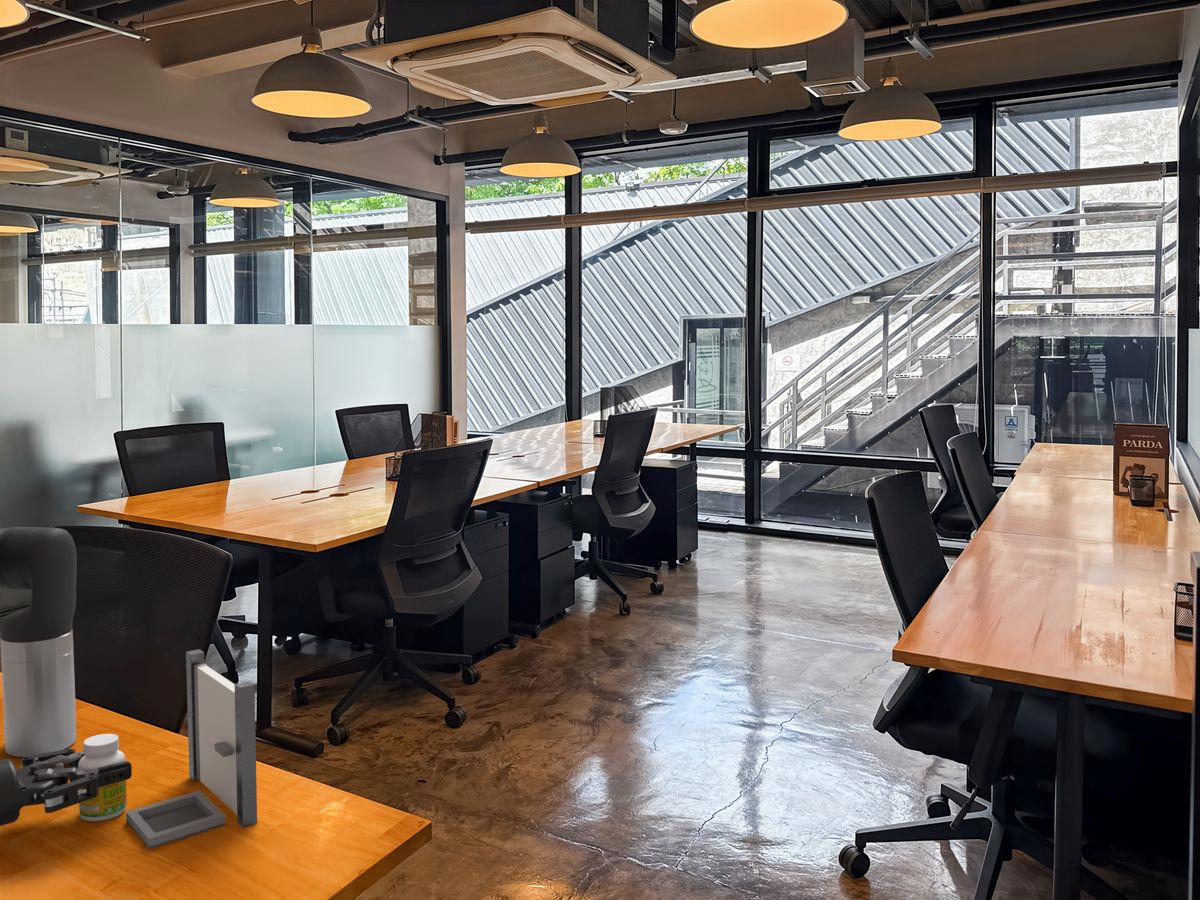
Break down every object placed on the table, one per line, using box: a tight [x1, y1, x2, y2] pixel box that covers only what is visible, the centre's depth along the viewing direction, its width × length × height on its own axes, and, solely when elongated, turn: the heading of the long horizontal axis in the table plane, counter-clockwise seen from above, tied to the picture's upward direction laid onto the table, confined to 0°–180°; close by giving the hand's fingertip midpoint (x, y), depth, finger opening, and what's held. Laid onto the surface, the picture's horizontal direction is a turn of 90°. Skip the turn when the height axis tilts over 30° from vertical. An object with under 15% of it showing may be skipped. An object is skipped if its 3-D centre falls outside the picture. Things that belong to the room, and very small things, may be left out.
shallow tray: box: [125, 790, 226, 850], centre depth 116 cm, size 9×9×1 cm
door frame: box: [185, 649, 258, 829], centre depth 122 cm, size 19×2×18 cm, turn 43°
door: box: [194, 663, 237, 815], centre depth 122 cm, size 15×3×16 cm, turn 43°
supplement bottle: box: [78, 733, 128, 822], centre depth 119 cm, size 5×5×10 cm
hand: (123, 761), depth 120 cm, fingers closed on supplement bottle, 5 cm apart
